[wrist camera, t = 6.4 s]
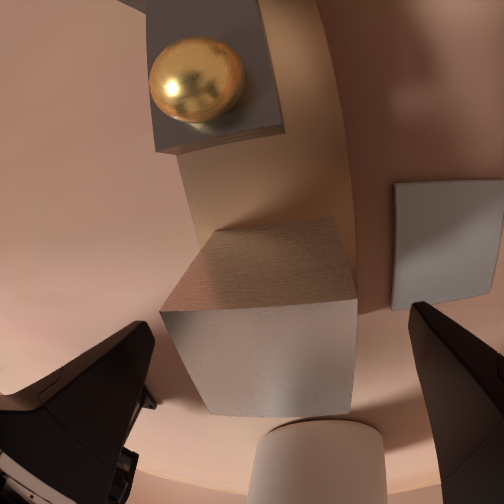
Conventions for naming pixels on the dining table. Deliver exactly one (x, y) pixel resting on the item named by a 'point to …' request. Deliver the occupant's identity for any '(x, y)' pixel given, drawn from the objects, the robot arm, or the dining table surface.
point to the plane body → (281, 143)
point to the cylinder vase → (319, 465)
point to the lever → (209, 74)
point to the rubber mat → (445, 239)
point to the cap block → (268, 321)
